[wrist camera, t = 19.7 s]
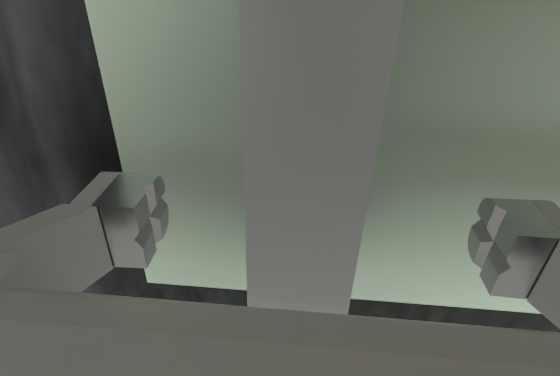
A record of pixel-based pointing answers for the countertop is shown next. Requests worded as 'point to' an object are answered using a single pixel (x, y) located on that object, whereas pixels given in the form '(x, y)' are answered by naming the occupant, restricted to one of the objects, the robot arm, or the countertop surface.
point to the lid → (333, 139)
